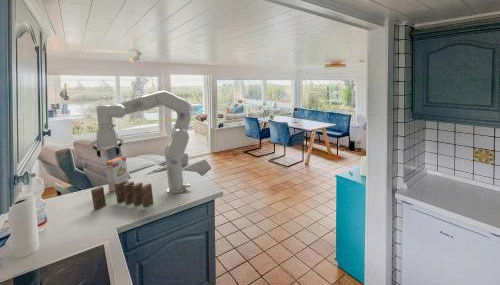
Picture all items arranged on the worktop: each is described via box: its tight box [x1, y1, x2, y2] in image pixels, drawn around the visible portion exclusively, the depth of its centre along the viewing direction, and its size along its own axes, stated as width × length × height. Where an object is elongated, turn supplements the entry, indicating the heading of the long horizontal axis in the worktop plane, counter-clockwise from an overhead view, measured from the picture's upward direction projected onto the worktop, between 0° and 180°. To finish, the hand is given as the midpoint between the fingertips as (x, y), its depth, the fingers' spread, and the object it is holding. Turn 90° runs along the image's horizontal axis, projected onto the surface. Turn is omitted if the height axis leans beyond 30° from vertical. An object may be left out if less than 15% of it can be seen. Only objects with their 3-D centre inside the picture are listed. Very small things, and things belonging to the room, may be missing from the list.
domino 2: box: [115, 181, 126, 203], centre depth 167 cm, size 2×6×12 cm, turn 158°
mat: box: [105, 194, 164, 212], centre depth 166 cm, size 38×12×1 cm, turn 68°
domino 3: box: [123, 181, 135, 205], centre depth 165 cm, size 2×6×12 cm, turn 158°
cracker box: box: [105, 156, 129, 193], centre depth 190 cm, size 14×6×21 cm, turn 168°
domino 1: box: [90, 186, 107, 210], centre depth 160 cm, size 2×6×12 cm, turn 158°
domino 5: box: [140, 183, 154, 207], centre depth 160 cm, size 2×6×12 cm, turn 158°
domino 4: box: [132, 182, 144, 206], centre depth 162 cm, size 2×6×12 cm, turn 158°
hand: (108, 155), depth 163 cm, fingers open, 9 cm apart
